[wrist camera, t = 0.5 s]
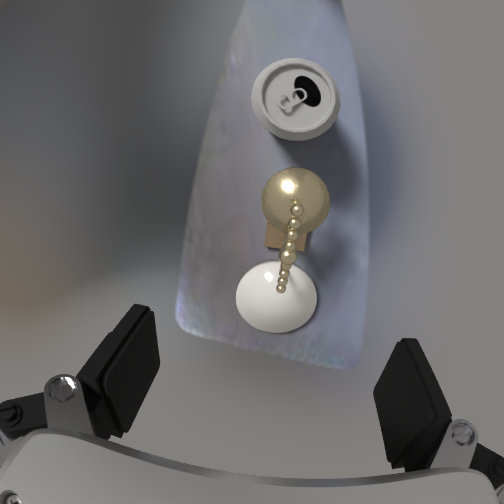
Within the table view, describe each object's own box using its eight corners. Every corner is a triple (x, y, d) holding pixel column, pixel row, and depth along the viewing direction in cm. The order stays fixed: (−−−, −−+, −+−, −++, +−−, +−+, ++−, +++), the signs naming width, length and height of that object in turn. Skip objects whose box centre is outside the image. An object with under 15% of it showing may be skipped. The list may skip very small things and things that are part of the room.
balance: (270, 156, 33) (262, 167, 21) (320, 163, 33) (342, 178, 20) (258, 261, 39) (245, 321, 26) (304, 267, 38) (311, 329, 26)
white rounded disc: (240, 254, 38) (239, 258, 37) (323, 265, 38) (324, 269, 37) (234, 322, 43) (233, 327, 42) (307, 331, 42) (308, 336, 41)
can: (335, 123, 31) (361, 116, 20) (280, 151, 33) (279, 157, 22) (304, 70, 29) (313, 38, 18) (249, 98, 31) (231, 79, 20)
